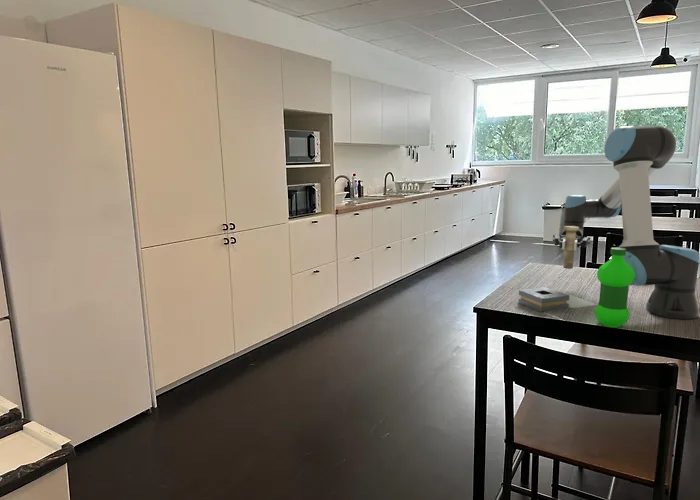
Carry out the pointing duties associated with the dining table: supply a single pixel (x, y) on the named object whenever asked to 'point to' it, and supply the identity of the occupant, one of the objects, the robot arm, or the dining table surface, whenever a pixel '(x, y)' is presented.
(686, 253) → the robot arm
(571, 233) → the pin
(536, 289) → the square socket block
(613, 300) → the plastic bottle
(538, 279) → the dining table surface
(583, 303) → the mat
